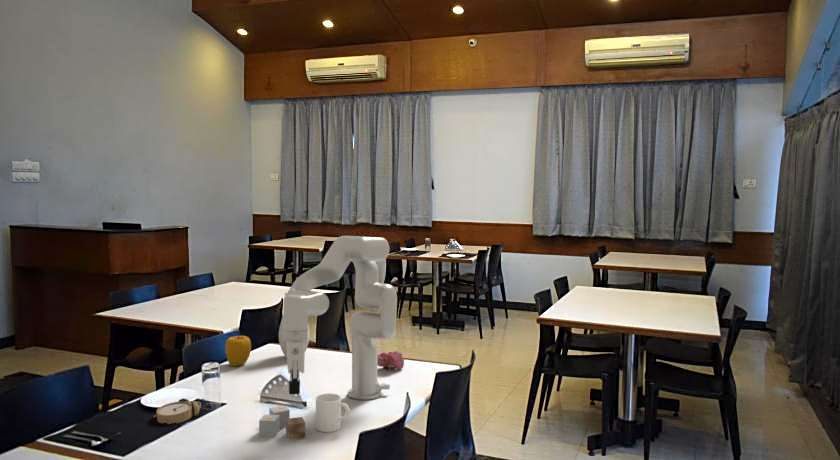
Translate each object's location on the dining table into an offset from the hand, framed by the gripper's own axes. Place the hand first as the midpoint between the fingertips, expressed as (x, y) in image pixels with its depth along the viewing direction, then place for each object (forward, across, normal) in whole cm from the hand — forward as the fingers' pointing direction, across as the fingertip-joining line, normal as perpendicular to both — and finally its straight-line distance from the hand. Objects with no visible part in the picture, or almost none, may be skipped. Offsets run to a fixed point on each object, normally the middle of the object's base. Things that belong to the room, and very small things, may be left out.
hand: (294, 393), depth 187 cm
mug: (+14, +5, -13) cm, 19 cm away
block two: (+14, +12, +4) cm, 19 cm away
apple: (+13, +83, +22) cm, 87 cm away
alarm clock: (+14, +25, +37) cm, 47 cm away
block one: (+14, +5, +7) cm, 16 cm away
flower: (+12, +65, -41) cm, 78 cm away
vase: (+12, +91, -2) cm, 92 cm away
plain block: (+14, +1, -1) cm, 14 cm away
